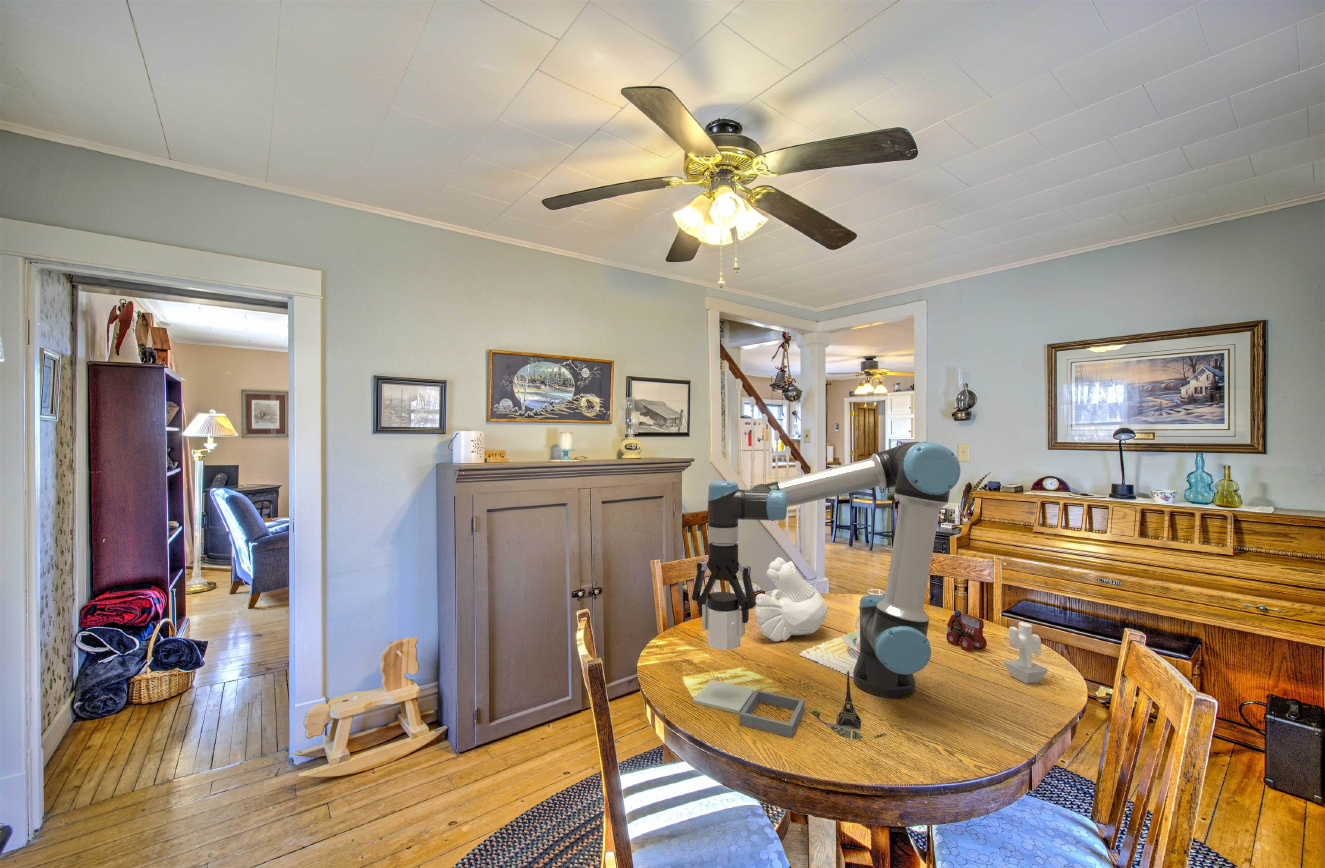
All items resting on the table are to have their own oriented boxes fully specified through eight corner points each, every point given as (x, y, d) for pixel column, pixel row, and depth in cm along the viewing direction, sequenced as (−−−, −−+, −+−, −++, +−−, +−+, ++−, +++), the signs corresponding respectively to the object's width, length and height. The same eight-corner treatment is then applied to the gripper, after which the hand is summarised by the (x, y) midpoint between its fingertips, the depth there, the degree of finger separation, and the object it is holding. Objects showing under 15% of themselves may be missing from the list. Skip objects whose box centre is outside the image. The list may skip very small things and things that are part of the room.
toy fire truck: (958, 637, 172) (957, 605, 172) (991, 652, 161) (991, 618, 161) (940, 640, 170) (940, 607, 170) (973, 655, 159) (973, 620, 159)
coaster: (754, 692, 136) (754, 689, 136) (739, 714, 126) (739, 710, 126) (710, 682, 142) (710, 679, 142) (692, 702, 131) (692, 699, 131)
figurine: (1052, 682, 140) (1051, 626, 141) (1024, 687, 138) (1024, 629, 138) (1026, 671, 147) (1025, 617, 148) (1000, 675, 145) (999, 620, 145)
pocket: (804, 710, 127) (804, 699, 127) (792, 737, 115) (792, 726, 115) (756, 699, 132) (755, 689, 132) (739, 724, 121) (739, 713, 121)
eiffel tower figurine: (807, 713, 127) (807, 657, 127) (841, 705, 130) (841, 651, 130) (851, 747, 113) (851, 684, 113) (888, 737, 116) (888, 676, 117)
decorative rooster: (817, 603, 187) (772, 549, 187) (843, 608, 172) (795, 549, 172) (770, 655, 179) (723, 599, 179) (793, 665, 164) (742, 604, 164)
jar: (720, 653, 128) (720, 603, 128) (699, 642, 135) (699, 595, 135) (747, 645, 133) (747, 597, 133) (726, 635, 139) (726, 589, 140)
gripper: (769, 543, 132) (769, 634, 132) (689, 536, 142) (690, 620, 142) (760, 549, 126) (761, 644, 125) (678, 541, 135) (678, 629, 135)
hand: (723, 631), depth 134 cm, fingers closed on jar, 9 cm apart
